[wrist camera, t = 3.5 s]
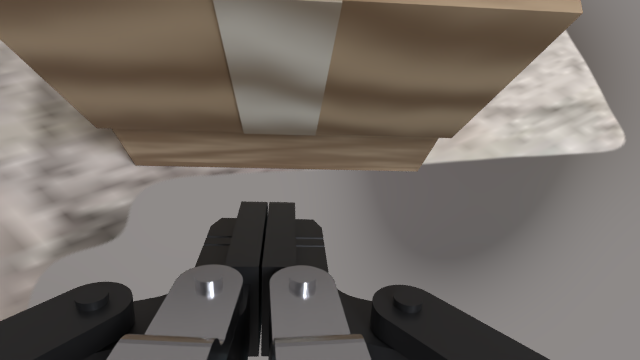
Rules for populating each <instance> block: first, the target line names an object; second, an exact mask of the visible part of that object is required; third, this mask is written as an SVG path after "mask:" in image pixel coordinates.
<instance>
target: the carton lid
mask: <svg viewBox="0 0 640 360" xmlns="http://www.w3.org/2000/svg"><path fill="white" fill-rule="evenodd" d="M582 13H583V11H582V5H581V0H0V40H1V41H3V42H4V43H5V44H6V45H7V46H8V47H9V48H10V49H11V50H12V51H13V52H15V53H16V54H17V55H18V56H19V57H20V58H21V59H22V60H23V61H24V62H25V63H26V64H28V65H29V66H30V67H31V68H32V69H33V70H34V71H35V72H36V73H37V74H38V75H40V76H41V77H42V78H43V79H44V80H45V81H46V82H47V83H48V84H49V85H50V86H51V87H53V88H54V89H55V90H56V91H57V92H58V93H59V94H60V95H61V96H62V97H63V98H65V99H66V100H67V101H68V102H69V103H70V104H71V105H72V106H73V107H74V108H75V109H76V110H78V111H79V112H80V113H81V114H82V115H83V116H84V117H85V118H86V119H87V120H88V121H90V122H91V123H92V124H93V125H94V126H95V127H96V128H108V129H144V130H180V131H216V132H244V134H276V135H312V136H315V135H316V134H324V135H360V136H396V137H432V138H452V137H453V136H454V135H455V134H456V133H457V132H458V131H459V130H461V129H462V128H463V127H464V126H465V125H466V124H467V123H468V122H469V121H470V120H471V119H472V118H473V117H474V116H475V115H476V114H477V113H478V112H479V111H481V110H482V109H483V108H484V107H485V106H486V105H487V104H488V103H489V102H490V101H491V100H492V99H493V98H494V97H495V96H496V95H497V94H498V93H499V92H500V91H502V90H503V89H504V88H505V87H506V86H507V85H508V84H509V83H510V82H511V81H512V80H513V79H514V78H515V77H516V76H517V75H518V74H519V73H520V72H522V71H523V70H524V69H525V68H526V67H527V66H528V65H529V64H530V63H531V62H532V61H533V60H534V59H535V58H536V57H537V56H538V55H539V54H540V53H542V52H543V51H544V50H545V49H546V48H547V47H548V46H549V45H550V44H551V43H552V42H553V41H554V40H555V39H556V38H557V37H558V36H559V35H560V34H561V33H563V32H564V31H565V30H566V29H567V28H568V27H569V26H570V25H571V24H572V23H573V22H574V21H575V20H576V19H577V18H578V17H579V16H580V15H581V14H582Z"/></svg>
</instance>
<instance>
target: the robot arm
mask: <svg viewBox="0 0 640 360" xmlns="http://www.w3.org/2000/svg"><path fill="white" fill-rule="evenodd" d="M261 324H262V342H261V343H262V345H261V346H262V348H261V351H262V353H261V356H269V360H549V359H548V358H546V357H544V356H542V355H540V354H539V353H537V352H535V351H533V350H531V349H529V348H528V347H526V346H524V345H522V344H521V343H519V342H517V341H515V340H513V339H511V338H510V337H508V336H506V335H504V334H502V333H501V332H499V331H497V330H495V329H493V328H491V327H490V326H488V325H486V324H484V323H482V322H481V321H479V320H477V319H475V318H473V317H471V316H470V315H468V314H466V313H464V312H463V311H461V310H459V309H457V308H455V307H454V306H452V305H450V304H448V303H446V302H445V301H443V300H441V299H439V298H437V297H435V296H434V295H432V294H430V293H428V292H426V291H424V290H422V289H419V288H416V287H412V286H406V285H391V286H387V287H384V288H381V289H380V290H378V291H377V292H376V293H375V294H374V296H373V300H372V301H368V300H364V299H359V298H355V297H352V296H349V295H347V294H345V293H342V292H341V291H339V290H338V289H337V287H336V284H335V281H334V279H333V277H332V276H331V275H330V274H329V273H328V267H327V260H326V253H325V247H324V240H323V234H322V228H321V227H320V226H319V225H318V224H317V223H316V222H315V221H314V220H305V219H304V220H303V219H295V203H287V202H270V203H269V211H268V203H267V202H241V206H240V209H239V213H238V216H237V218H221V219H220V220H218V221H217V222H216V223H214V224H213V225H212V226H211V227H210V230H209V233H208V235H207V238H206V240H205V243H204V246H203V248H202V250H201V253H200V256H199V258H198V261H197V263H196V266H195V268H192V269H189V270H187V271H185V272H184V273H182V274H181V275H180V276H179V277H178V278H177V279H176V281H175V283H174V284H173V286H172V288H171V289H170V291H169V293H168V294H167V295H163V296H160V297H155V298H150V299H145V300H139V301H134V302H133V297H132V292H131V290H130V289H129V288H128V287H126V286H125V285H123V284H119V283H114V282H97V283H91V284H87V285H83V286H80V287H77V288H75V289H72V290H70V291H68V292H66V293H63V294H61V295H59V296H57V297H54V298H52V299H50V300H48V301H45V302H43V303H41V304H39V305H36V306H34V307H32V308H30V309H27V310H25V311H23V312H21V313H18V314H16V315H14V316H12V317H9V318H7V319H5V320H3V321H0V360H248V356H258V355H259V345H260V335H261Z"/></svg>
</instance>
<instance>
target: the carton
mask: <svg viewBox="0 0 640 360" xmlns="http://www.w3.org/2000/svg"><path fill="white" fill-rule="evenodd" d="M112 130H113V131H114V133H115V134H116V136H117V137H118V139H119V141H120V142H121V144H122V145H123V147H124V148H125V150H126V151H127V153H128V154H129V156H130V157H131V159H132V160H133V162H134V163H135V165H142V166H189V167H236V168H283V169H330V170H378V171H418V169H419V168H420V167H421V165H422V163H423V162H424V160H425V159H426V157H427V156H428V154H429V152H430V151H431V149H432V148H433V146H434V145H435V143H436V141H437V140H438V138H432V137H396V136H360V135H324V134H316V135H315V136H312V135H276V134H244V132H216V131H180V130H144V129H112Z"/></svg>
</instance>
